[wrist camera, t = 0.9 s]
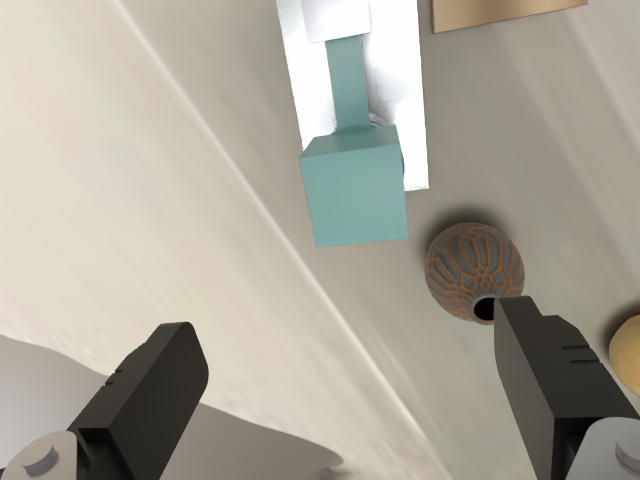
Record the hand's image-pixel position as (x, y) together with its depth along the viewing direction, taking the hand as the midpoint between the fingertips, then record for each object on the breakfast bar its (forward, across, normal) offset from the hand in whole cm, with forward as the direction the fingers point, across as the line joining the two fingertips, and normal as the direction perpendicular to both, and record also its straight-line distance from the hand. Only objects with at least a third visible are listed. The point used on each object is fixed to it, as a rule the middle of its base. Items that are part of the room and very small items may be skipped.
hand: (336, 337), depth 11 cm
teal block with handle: (+16, 0, -4) cm, 16 cm away
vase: (+23, -7, +10) cm, 26 cm away
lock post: (+23, 0, -7) cm, 24 cm away
